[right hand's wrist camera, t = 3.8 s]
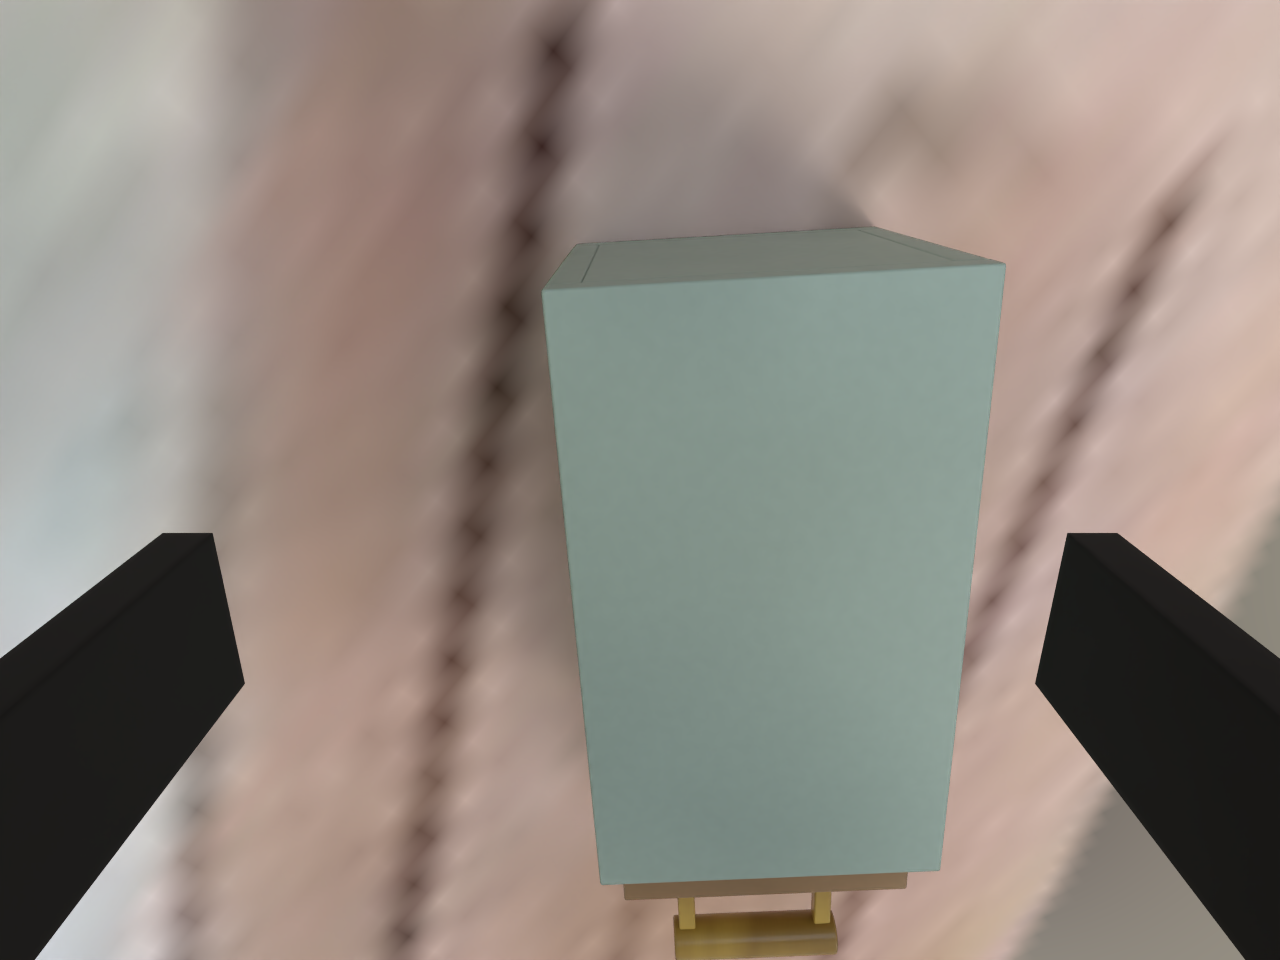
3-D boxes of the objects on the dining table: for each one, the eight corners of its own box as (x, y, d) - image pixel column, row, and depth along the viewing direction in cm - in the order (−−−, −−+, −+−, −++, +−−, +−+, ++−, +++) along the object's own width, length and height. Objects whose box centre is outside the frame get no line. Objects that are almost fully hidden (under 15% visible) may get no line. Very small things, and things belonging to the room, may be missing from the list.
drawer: (838, 829, 35) (895, 1020, 27) (636, 837, 35) (635, 1030, 28) (861, 317, 27) (952, 381, 19) (598, 332, 27) (581, 402, 19)
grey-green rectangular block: (854, 667, 33) (940, 871, 24) (611, 679, 33) (600, 886, 24) (876, 226, 27) (1007, 263, 17) (575, 243, 27) (540, 289, 17)
